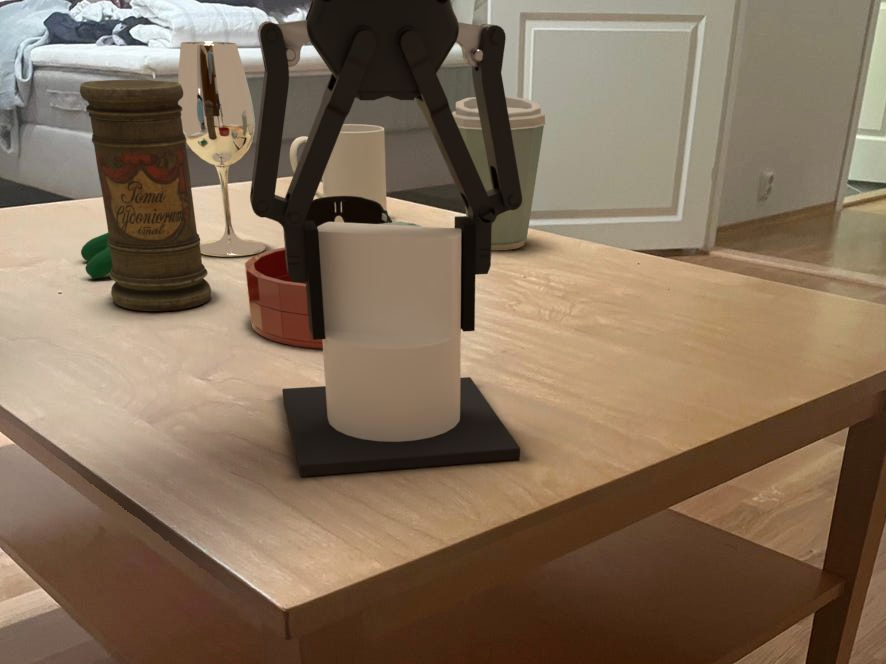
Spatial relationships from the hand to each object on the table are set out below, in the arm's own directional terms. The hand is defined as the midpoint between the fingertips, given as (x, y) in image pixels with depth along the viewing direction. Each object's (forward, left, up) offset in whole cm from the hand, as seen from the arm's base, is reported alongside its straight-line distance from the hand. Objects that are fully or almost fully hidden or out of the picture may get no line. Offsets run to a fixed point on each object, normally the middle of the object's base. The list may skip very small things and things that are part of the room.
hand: (391, 329), depth 65 cm
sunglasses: (+4, +52, -7) cm, 53 cm away
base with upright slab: (0, 0, -6) cm, 6 cm away
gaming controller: (-21, +49, -7) cm, 54 cm away
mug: (+5, +70, -7) cm, 71 cm away
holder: (0, 0, -7) cm, 7 cm away
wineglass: (-9, +56, -7) cm, 57 cm away
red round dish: (0, +26, -7) cm, 27 cm away
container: (-16, +36, -7) cm, 40 cm away
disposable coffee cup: (+21, +54, -7) cm, 58 cm away
